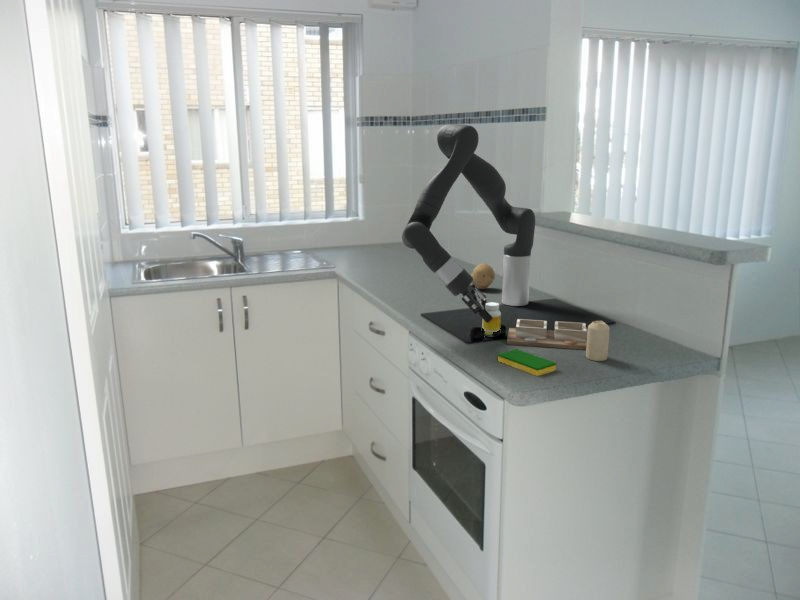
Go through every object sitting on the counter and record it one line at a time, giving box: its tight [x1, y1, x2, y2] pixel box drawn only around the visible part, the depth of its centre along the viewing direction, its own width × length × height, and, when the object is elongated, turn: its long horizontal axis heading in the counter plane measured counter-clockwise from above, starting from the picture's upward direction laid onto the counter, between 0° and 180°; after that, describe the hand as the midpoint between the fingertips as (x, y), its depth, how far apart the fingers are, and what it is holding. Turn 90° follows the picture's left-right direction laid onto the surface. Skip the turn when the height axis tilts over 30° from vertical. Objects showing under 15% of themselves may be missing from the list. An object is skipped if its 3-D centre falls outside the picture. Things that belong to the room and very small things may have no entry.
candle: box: [585, 320, 611, 362], centre depth 176 cm, size 6×6×10 cm
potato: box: [470, 263, 496, 290], centre depth 251 cm, size 9×9×10 cm
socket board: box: [506, 318, 588, 351], centre depth 191 cm, size 13×24×4 cm, turn 78°
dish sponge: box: [497, 348, 557, 377], centre depth 171 cm, size 7×14×2 cm, turn 37°
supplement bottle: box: [481, 301, 502, 335], centre depth 195 cm, size 5×5×10 cm
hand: (491, 316), depth 195 cm, fingers open, 8 cm apart
